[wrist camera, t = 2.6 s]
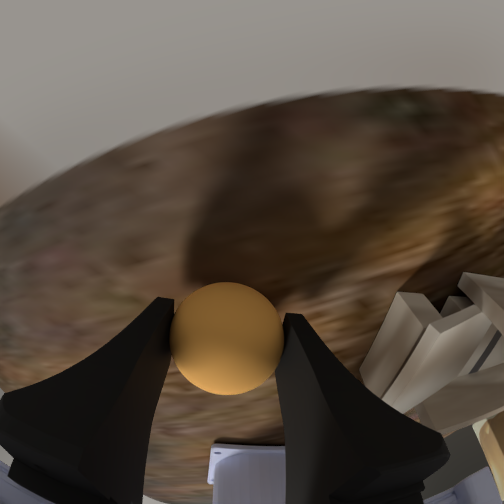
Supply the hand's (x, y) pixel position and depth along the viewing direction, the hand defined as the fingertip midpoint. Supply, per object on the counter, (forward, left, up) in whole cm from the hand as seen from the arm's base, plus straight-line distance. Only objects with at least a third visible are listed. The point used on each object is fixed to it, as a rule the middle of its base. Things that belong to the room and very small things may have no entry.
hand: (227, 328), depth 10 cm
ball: (0, 0, +1) cm, 1 cm away
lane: (-1, -15, -1) cm, 15 cm away
